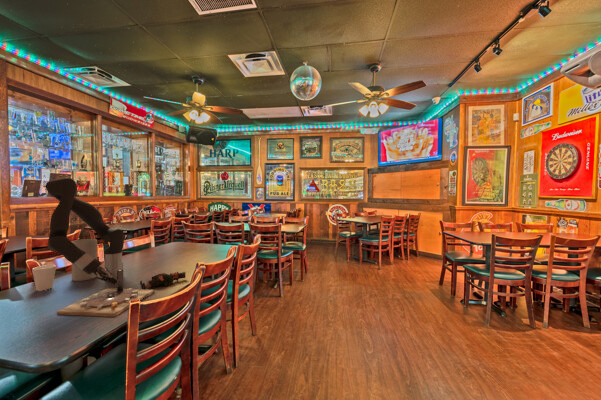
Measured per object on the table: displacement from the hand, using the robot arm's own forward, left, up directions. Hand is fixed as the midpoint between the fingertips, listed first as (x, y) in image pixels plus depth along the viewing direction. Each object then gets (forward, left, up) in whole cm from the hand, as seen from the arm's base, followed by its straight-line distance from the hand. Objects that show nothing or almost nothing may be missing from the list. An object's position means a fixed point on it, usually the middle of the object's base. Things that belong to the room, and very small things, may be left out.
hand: (116, 282), depth 135 cm
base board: (+9, +5, -7) cm, 12 cm away
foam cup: (-4, -47, -7) cm, 48 cm away
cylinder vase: (-23, -41, -7) cm, 48 cm away
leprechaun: (-18, +16, -7) cm, 25 cm away
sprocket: (+9, +5, -5) cm, 11 cm away
